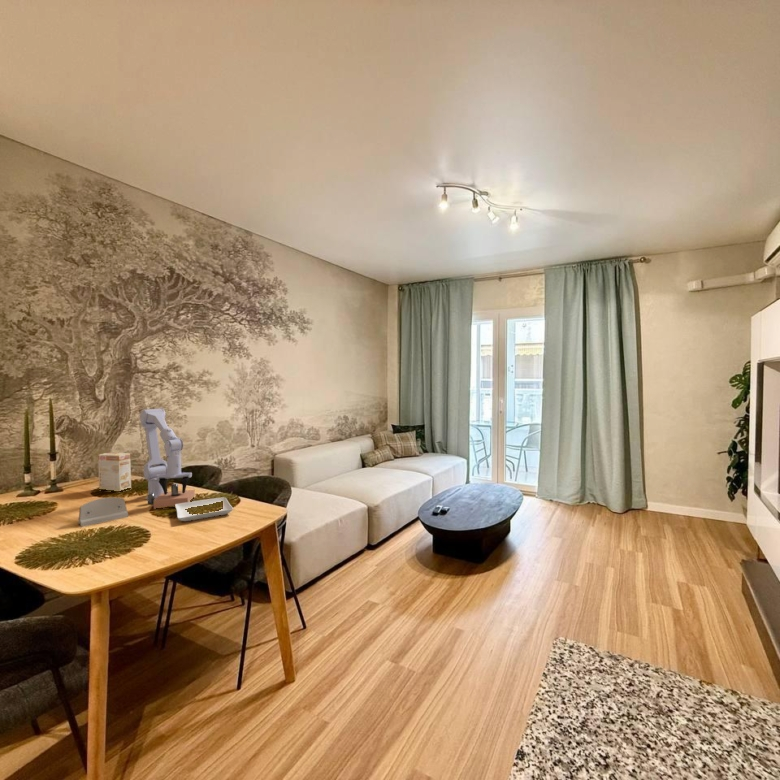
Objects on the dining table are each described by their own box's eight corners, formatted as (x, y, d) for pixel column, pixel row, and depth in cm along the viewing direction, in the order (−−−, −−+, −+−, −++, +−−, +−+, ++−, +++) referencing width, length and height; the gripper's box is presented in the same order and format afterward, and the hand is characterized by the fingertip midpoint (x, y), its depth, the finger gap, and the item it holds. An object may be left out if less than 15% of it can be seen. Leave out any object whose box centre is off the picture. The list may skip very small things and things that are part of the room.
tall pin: (172, 502, 187) (172, 483, 187) (179, 502, 188) (178, 483, 188) (170, 504, 184) (170, 485, 184) (177, 503, 185) (177, 484, 185)
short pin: (148, 502, 187) (148, 493, 187) (155, 502, 188) (155, 493, 188) (146, 504, 185) (146, 495, 184) (153, 504, 185) (153, 494, 185)
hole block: (163, 500, 191) (162, 492, 191) (194, 497, 195) (194, 489, 195) (153, 509, 178) (153, 500, 177) (187, 506, 181) (187, 497, 181)
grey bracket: (80, 527, 156) (78, 502, 158) (78, 528, 159) (76, 503, 162) (129, 516, 168) (126, 493, 170) (126, 517, 171) (124, 494, 174)
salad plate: (234, 516, 168) (234, 508, 168) (177, 526, 157) (177, 517, 157) (225, 503, 186) (225, 496, 186) (174, 511, 175) (174, 503, 175)
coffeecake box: (131, 489, 212) (130, 453, 212) (119, 492, 206) (118, 455, 205) (111, 487, 217) (110, 451, 217) (98, 490, 210) (97, 454, 210)
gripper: (154, 467, 180) (154, 497, 180) (189, 465, 184) (189, 494, 184) (159, 464, 187) (159, 492, 187) (192, 462, 191) (193, 490, 191)
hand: (174, 493), depth 186 cm, fingers open, 7 cm apart
